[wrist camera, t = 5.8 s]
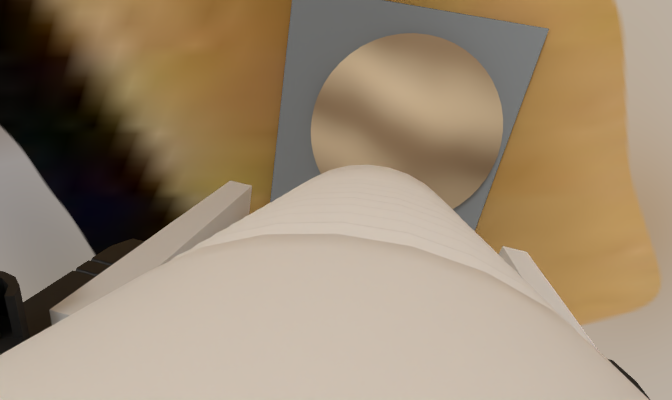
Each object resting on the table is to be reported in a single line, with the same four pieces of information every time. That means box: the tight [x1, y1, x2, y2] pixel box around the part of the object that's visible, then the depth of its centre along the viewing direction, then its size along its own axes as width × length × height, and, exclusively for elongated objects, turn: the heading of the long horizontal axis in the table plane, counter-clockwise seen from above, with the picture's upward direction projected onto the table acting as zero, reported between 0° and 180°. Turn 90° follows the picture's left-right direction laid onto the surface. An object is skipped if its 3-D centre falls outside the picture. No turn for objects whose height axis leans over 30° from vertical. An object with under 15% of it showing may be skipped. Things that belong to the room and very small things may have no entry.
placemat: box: [270, 0, 549, 231], centre depth 25 cm, size 18×16×1 cm
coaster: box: [311, 33, 503, 209], centre depth 24 cm, size 13×13×1 cm
